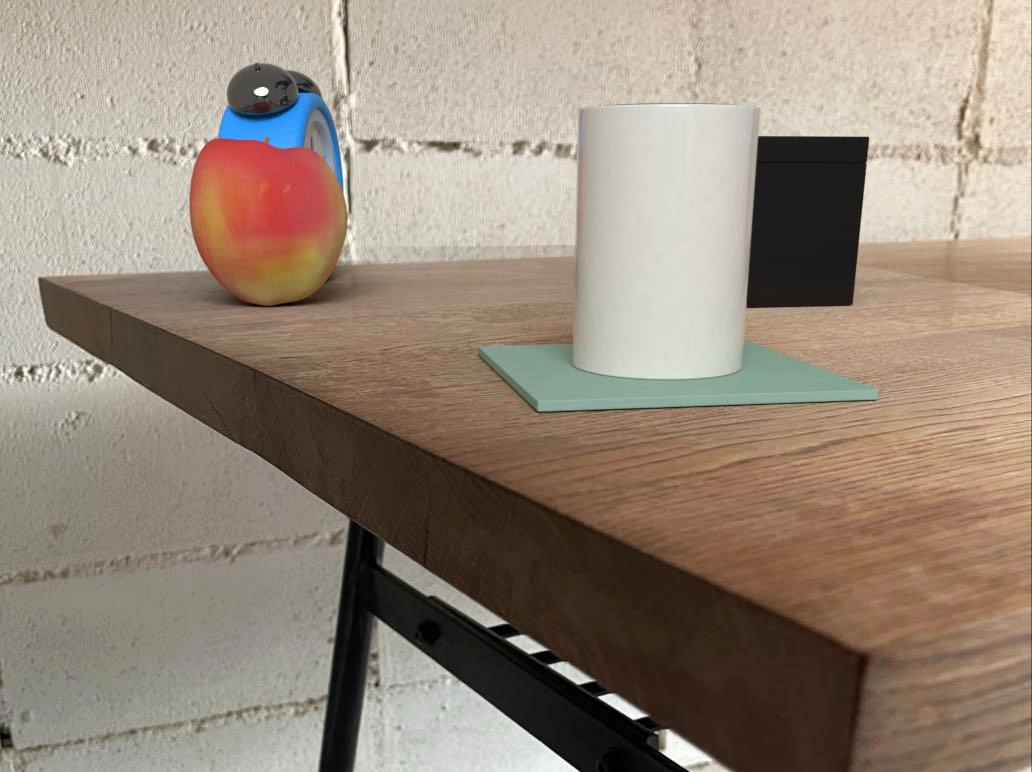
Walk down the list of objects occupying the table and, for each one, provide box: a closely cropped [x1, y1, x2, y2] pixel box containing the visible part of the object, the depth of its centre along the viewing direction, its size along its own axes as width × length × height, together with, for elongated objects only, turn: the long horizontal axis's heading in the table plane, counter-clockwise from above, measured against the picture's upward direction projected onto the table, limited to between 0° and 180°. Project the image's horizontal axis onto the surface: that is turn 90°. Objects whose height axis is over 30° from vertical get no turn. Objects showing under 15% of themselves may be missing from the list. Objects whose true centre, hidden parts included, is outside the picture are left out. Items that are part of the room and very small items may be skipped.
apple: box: [188, 136, 349, 307], centre depth 70 cm, size 10×10×10 cm
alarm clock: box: [217, 62, 344, 192], centre depth 82 cm, size 13×6×15 cm, turn 174°
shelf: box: [746, 135, 870, 308], centre depth 75 cm, size 10×14×10 cm
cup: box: [572, 102, 761, 380], centre depth 45 cm, size 7×7×10 cm
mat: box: [477, 338, 880, 413], centre depth 47 cm, size 13×13×1 cm
